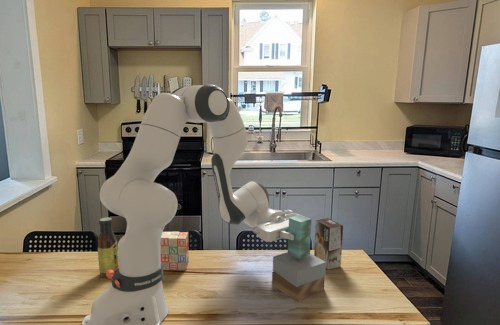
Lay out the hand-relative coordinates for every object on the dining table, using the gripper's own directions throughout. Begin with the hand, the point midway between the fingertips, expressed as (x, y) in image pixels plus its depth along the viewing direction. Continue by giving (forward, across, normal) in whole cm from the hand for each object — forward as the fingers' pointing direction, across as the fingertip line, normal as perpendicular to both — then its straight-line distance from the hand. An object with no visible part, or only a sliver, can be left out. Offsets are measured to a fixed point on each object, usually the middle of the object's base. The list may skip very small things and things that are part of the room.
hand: (301, 235), depth 107 cm
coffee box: (-6, +21, +18) cm, 28 cm away
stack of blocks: (-41, -31, +18) cm, 55 cm away
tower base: (-1, 0, +18) cm, 18 cm away
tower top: (-1, 0, +13) cm, 13 cm away
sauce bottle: (-46, -47, +18) cm, 68 cm away
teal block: (-1, 0, +7) cm, 7 cm away
